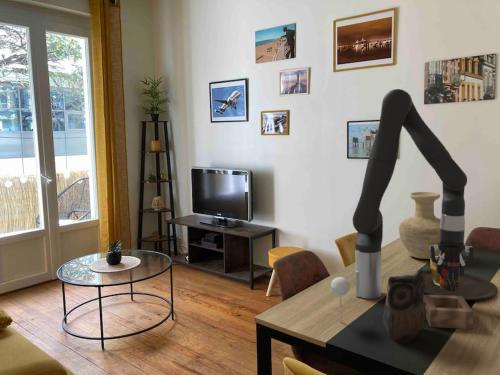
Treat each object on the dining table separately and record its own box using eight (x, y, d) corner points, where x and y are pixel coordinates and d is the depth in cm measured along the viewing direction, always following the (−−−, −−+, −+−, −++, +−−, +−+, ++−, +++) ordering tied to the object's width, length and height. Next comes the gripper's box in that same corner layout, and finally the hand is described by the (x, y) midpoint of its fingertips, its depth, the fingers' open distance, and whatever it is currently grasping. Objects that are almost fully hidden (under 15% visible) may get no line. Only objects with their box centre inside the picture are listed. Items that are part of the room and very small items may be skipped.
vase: (406, 247, 211) (406, 189, 207) (454, 253, 198) (456, 191, 194) (392, 259, 193) (392, 196, 189) (445, 267, 180) (446, 199, 176)
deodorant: (460, 291, 140) (463, 248, 137) (441, 290, 141) (444, 247, 138) (455, 284, 145) (458, 243, 143) (437, 284, 146) (439, 242, 144)
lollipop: (346, 328, 130) (345, 282, 128) (328, 324, 133) (327, 279, 131) (352, 319, 135) (352, 275, 133) (335, 316, 138) (334, 273, 136)
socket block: (430, 326, 128) (430, 309, 127) (422, 310, 140) (423, 294, 139) (472, 329, 125) (473, 311, 125) (461, 311, 137) (462, 296, 136)
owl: (426, 327, 128) (427, 264, 125) (427, 347, 116) (428, 279, 114) (383, 322, 133) (383, 262, 130) (380, 341, 121) (380, 275, 118)
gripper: (431, 229, 138) (429, 277, 140) (479, 230, 135) (476, 280, 137) (427, 224, 145) (425, 270, 147) (472, 225, 142) (469, 272, 144)
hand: (449, 274), depth 142 cm, fingers closed on deodorant, 6 cm apart
